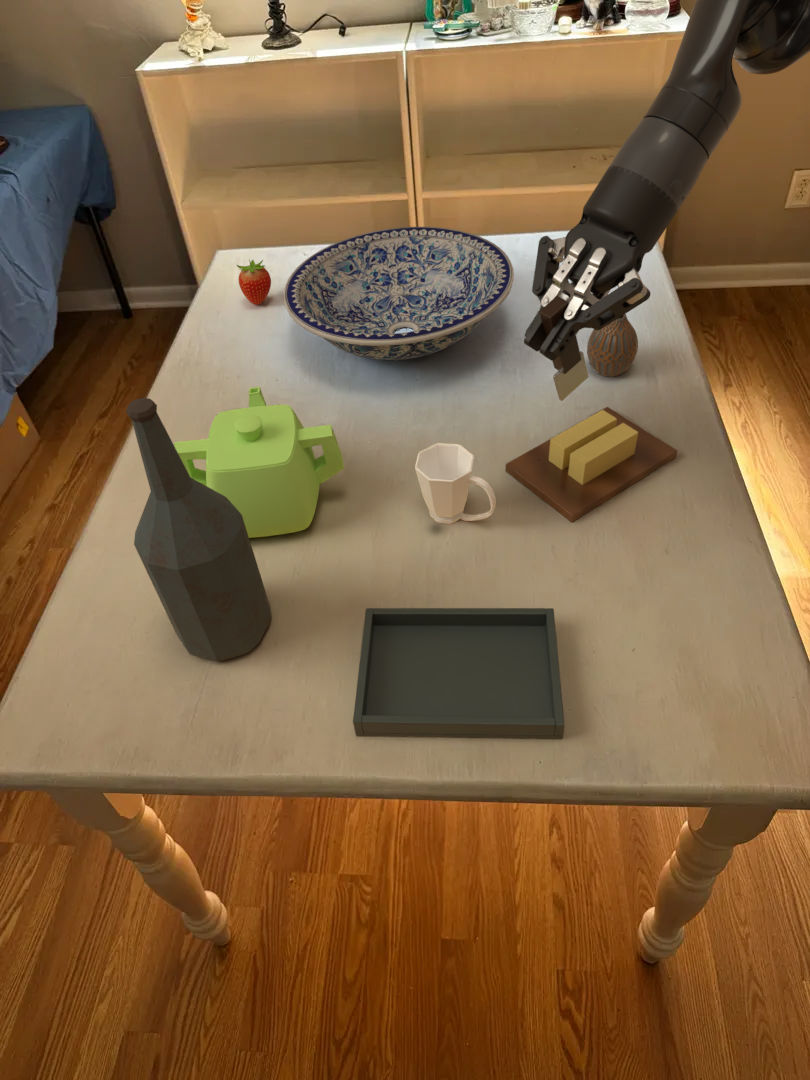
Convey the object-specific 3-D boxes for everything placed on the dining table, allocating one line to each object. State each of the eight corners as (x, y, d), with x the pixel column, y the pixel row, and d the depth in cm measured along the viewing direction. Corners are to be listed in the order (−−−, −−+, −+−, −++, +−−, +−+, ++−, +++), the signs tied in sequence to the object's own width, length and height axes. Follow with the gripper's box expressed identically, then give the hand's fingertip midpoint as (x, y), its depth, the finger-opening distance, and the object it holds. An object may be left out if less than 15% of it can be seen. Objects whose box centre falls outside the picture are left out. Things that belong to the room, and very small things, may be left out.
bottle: (263, 580, 90) (193, 357, 68) (281, 646, 83) (211, 422, 61) (173, 607, 88) (73, 387, 66) (185, 676, 82) (78, 457, 60)
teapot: (199, 455, 106) (171, 375, 97) (345, 439, 106) (332, 357, 97) (185, 555, 93) (151, 473, 84) (351, 536, 94) (337, 452, 84)
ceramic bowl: (347, 268, 139) (340, 212, 132) (536, 293, 129) (540, 234, 122) (254, 378, 118) (239, 319, 110) (472, 418, 108) (471, 356, 100)
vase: (643, 365, 113) (652, 311, 107) (617, 388, 110) (626, 333, 103) (601, 349, 116) (608, 296, 110) (575, 371, 113) (581, 317, 107)
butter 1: (599, 430, 102) (602, 409, 99) (613, 440, 100) (617, 418, 98) (548, 460, 99) (550, 439, 96) (562, 470, 97) (564, 449, 95)
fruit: (253, 294, 135) (243, 250, 129) (280, 297, 134) (271, 253, 128) (238, 310, 132) (227, 265, 126) (266, 314, 130) (256, 269, 124)
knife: (582, 372, 84) (562, 290, 75) (592, 379, 83) (574, 296, 74) (555, 396, 84) (532, 316, 74) (565, 403, 83) (544, 323, 73)
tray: (551, 623, 83) (553, 607, 81) (562, 739, 74) (564, 725, 72) (368, 622, 85) (365, 607, 83) (356, 736, 75) (352, 722, 73)
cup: (436, 484, 99) (433, 434, 93) (507, 511, 95) (509, 460, 89) (407, 519, 95) (402, 469, 89) (480, 548, 91) (480, 498, 85)
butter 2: (619, 444, 100) (623, 422, 97) (634, 453, 98) (638, 432, 96) (567, 474, 97) (570, 453, 94) (582, 485, 95) (585, 463, 93)
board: (606, 413, 106) (607, 406, 105) (676, 457, 99) (677, 450, 98) (505, 471, 100) (505, 463, 99) (572, 522, 93) (572, 515, 92)
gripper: (718, 229, 71) (605, 395, 75) (607, 185, 79) (511, 337, 83) (689, 188, 65) (569, 369, 69) (572, 145, 73) (471, 310, 78)
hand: (538, 351), depth 76 cm, fingers closed on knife, 1 cm apart
